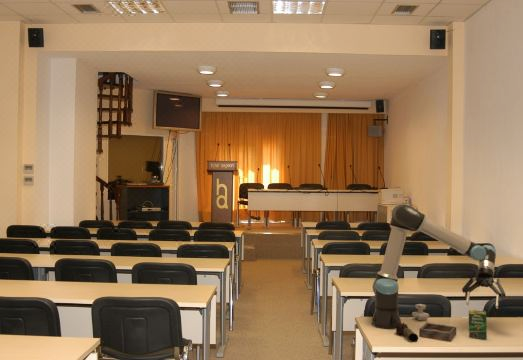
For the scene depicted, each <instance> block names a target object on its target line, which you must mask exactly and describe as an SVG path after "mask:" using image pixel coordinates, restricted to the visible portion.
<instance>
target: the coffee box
mask: <svg viewBox="0 0 523 360" xmlns="http://www.w3.org/2000/svg"><path fill="white" fill-rule="evenodd" d="M487 322H488V321H487V311H486V310H475V309H468V337H469V338H473V339H480V340H487V337H488V335H487V334H488V333H487V332H488V330H487V328H488V327H487Z"/></svg>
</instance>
